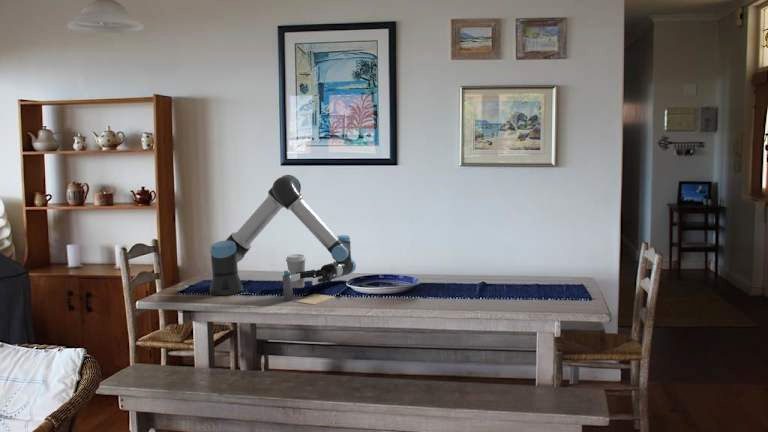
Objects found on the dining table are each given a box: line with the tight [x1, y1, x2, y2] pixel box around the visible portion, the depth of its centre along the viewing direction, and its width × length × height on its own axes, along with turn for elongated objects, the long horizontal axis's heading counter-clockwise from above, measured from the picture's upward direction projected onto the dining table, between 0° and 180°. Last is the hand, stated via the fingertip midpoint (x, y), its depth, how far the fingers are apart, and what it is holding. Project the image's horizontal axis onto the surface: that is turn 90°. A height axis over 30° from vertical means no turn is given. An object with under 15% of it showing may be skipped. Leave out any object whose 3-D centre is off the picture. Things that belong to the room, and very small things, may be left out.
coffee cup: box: [285, 253, 307, 289], centre depth 322 cm, size 10×10×15 cm
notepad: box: [293, 293, 336, 306], centre depth 297 cm, size 12×14×1 cm
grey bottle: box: [282, 270, 294, 302], centre depth 297 cm, size 4×4×13 cm
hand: (301, 280), depth 304 cm, fingers open, 13 cm apart
